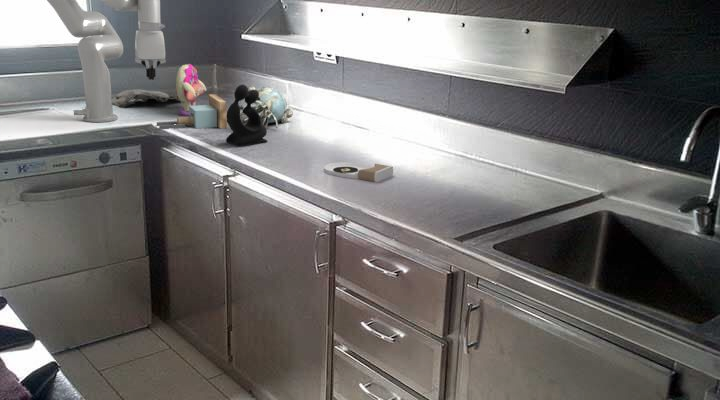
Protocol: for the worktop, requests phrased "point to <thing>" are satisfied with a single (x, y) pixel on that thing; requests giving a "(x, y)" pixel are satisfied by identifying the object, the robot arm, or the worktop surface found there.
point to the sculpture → (270, 106)
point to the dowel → (186, 121)
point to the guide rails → (169, 125)
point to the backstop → (219, 110)
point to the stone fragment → (140, 97)
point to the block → (203, 116)
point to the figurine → (254, 126)
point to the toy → (188, 87)
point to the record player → (359, 171)
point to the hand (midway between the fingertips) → (151, 78)
